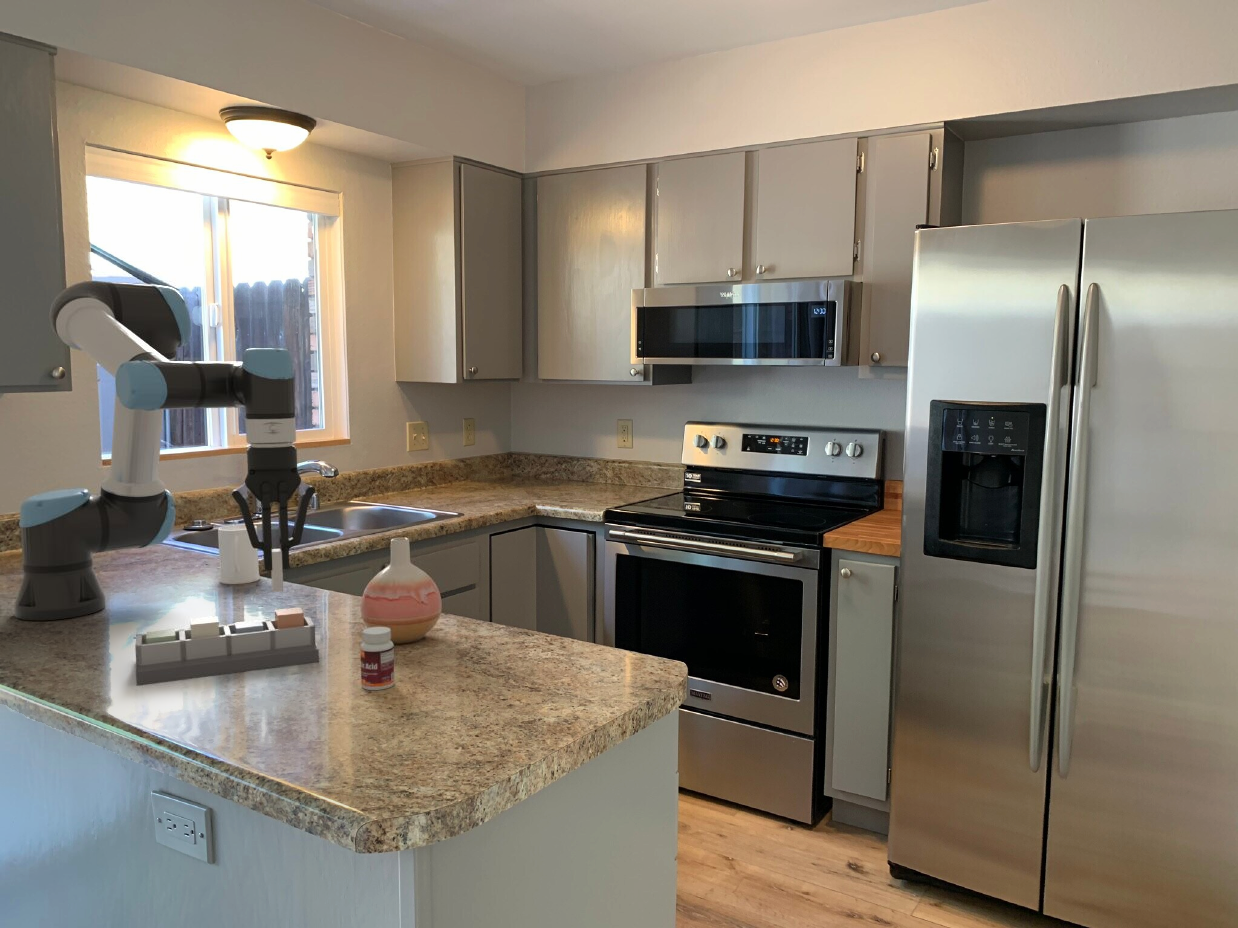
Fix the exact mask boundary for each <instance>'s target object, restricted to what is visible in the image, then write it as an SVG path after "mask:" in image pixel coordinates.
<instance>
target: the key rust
mask: <svg viewBox="0 0 1238 928" xmlns="http://www.w3.org/2000/svg"><path fill="white" fill-rule="evenodd" d="M304 616H305V615H304V612H303V609H302V608H301V607H292V608H279V609H274V619H275V628H276V629H283V628H292V627H301V626H304Z"/></svg>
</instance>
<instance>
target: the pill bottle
mask: <svg viewBox="0 0 1238 928" xmlns="http://www.w3.org/2000/svg"><path fill="white" fill-rule="evenodd" d="M390 639H391V630H390V628H387V627H371V628H367V627H366V628H365V629H363V631H362V641H363V642H362V643H361V644H360V647H359V648H360V649H359V651H360V683H361V685H360V686H361V687H362V688H363V689H365V690H367V691H382V690H387V689H389V688H391V687H394V685H395V644H393V642H392V641H390Z"/></svg>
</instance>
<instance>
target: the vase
mask: <svg viewBox="0 0 1238 928" xmlns="http://www.w3.org/2000/svg"><path fill="white" fill-rule="evenodd" d="M410 551H411V550H410V539H409V537H394V538H391V539H390V564H388V565H387V566H386V567H384V568H383V569H382V570H381V571H379V572H378V573H377V574H376V575H374V577H373V578H371V580H370V581H369V583H368V584H367V585H366V586H365V589H364V590H363V594H362V597H361V602H360V614H361V619H362V621H363V624H364V626H365V628H366V629H367V628H371V627H387V628H390V630H391V639H390V641H392V642H393V644H394V645H396V644H398V645H400V644H410V643H413V642H417V641H419V640H421V639H423V638H424V637H425V636H426V635H427V634H428V633H429V632H431V630H433V628H434V627H435V626H436V624H437V623H438V622H439V619H440V617H441V614H442V605H443V604H442V598H441V596H442V595H441V593H440V591H439V588H438V586H437V584H436V583H435V581H434V580H433V579H432V577H431V576H429V575H428V573H426V572H425V571H424V570H422V569H420V568H419V567H417V566H416V565H414V564H413V563H412V562H411V553H410Z"/></svg>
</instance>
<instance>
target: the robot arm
mask: <svg viewBox="0 0 1238 928" xmlns="http://www.w3.org/2000/svg"><path fill="white" fill-rule="evenodd" d="M189 311H190V310H189V308H188V305H187V303H186V301H185V299H184V297H183V296H182V294H181V293H180V292H179V291H178V290H177V289H175V288H173V287H171V286H165V285H158V284H154V283H140V282H139V283H138V282H136V283H135V282H119V281H117V282H116V281H103V280H87V281H86V280H84V281H82V282H77V283H74V284H72V285H70V286H68V287H67V288H65V289H63V290H62V291H61V292H60V293H59V294H57V296H56V297H55V298H54V300H53V301H52V304H51V306H50V310H49V314H48V315H49V323H50V327H51V329H52V331H53V332H54V333H55V335H56V336H57V337H58V338H59V339H60V340H61V341H62V342H63V343H64V344H65V345H67V346H69V347H70V348H72V349H74V350H78V351H82V352H84V353H85V354H87V356H89V357H90V359H92V360H93V361H94V362H96V363H97V364H98V365H99V366H100V367H102V368H103V369H104V370H105V371H106V372H107V373H109V375H111V376H112V377H113V378H115V379H114V381H115V384H114V385H115V392H114V393H115V395H114V411H113V423H112V424H113V425H112V439H111V440H112V441H111V457H110V458H111V459H110V474H109V475H108V476H107V477H106V478H104V479H103V480H102V481H101V482H100V493H95V494H91V493H90V491H89V490H88V489H87V488H83V487H81V488H80V487H79V488H78V487H76V488H69V489H68V488H67V489H66V488H65V489H59V490H53V491H47V492H43V493H39V494H36V495H32V496H30V497H28V498H26V499H24V500H23V501H22V503H21V504H20V507H19V508H20V509H19V523H18V525H19V527H20V538H21V542H20V543H21V555H22V567H23V568H22V569H23V571H22V572H23V573H22V574H23V576H22V579H21V583H20V586H19V590H18V593H17V595H16V598H15V602H14V616H15V618H16V619H19V620H25V621H52V620H63V619H70V618H71V619H72V618H77V617H82V616H86V615H89V614H93V613H97V612H99V611H102V610H103V609H105V607H106V596H105V593H104V591H103V588H102V586H101V584H100V582H99V579H98V577H97V575H96V573H95V570H94V562H93V561H94V559H93V557H94V556H93V554H98V553H99V554H100V553H106V552H107V553H108V552H116V551H123V550H130V549H144V548H147V547H151V546H156V545H160V544H162V543H163V542H164V541H166V540H167V539H168V538H169V536H170V535H171V533H172V531H173V529H174V527H175V522H176V508H175V499H174V496H173V495H172V492H170V491H169V490H168V489H167V488H166V484H165V482H163V480H161V479H160V478H159V471H160V454H161V445H162V444H161V443H162V431H163V419H164V418H163V417H164V411H165V410H182V409H183V410H185V409H225V408H227V409H232V408H234V409H236V408H244V411H245V436H246V438H245V439H246V441H245V442H246V443H247V444H249V446H248V448H247V449H246V458H247V460H246V463H247V474H246V477H245V479H244V483H243V484H242V485H241V486H239V487H238V488H236V489H235V488H234V489H232V490H231V492H230V494H231V497H232V498H233V499H234V500H235V502H236V503H237V504H238V506H239V509H240V512H241V516H242V519H243V523H244V525H245V526H246V529H247V532H248V536H249V539H250V542H251V545H252V547H253V548H255V549H256V548H257V549H258V550H260V551H262V553H263V568H264V570H265V572H269V571H270V573H271V589H272V591H273V592H274V593H277V592H283V591H284V574H283V570H288V569H290V549H292V547H293V548H294V547H295V546H299V545H300V544H301V541H302V536H303V532H304V528H305V527H304V526H305V522H306V518H307V513H308V508H309V503H310V501H311V499H312V498H313V496H314V494H315V493H316V488H315V487H314V486H313V485H309V484H307V483H305V482H304V481H302V477H301V476H300V474H299V472H298V471H299V470H298V453H297V451H298V449H297V447H296V446H295V445H294V443H295V442H297V429H296V428H297V426H296V397H295V396H296V395H295V394H296V392H295V391H296V390H295V374H296V373H295V370H294V362H293V361H294V360H293V354H292V352H291V351H290V350H289V349H286V348H271V347H269V348H267V347H266V348H265V347H264V348H261V347H259V348H257V347H256V348H247V349H246V350H244V352H243V354H242V361H175V360H176V357H177V349H178V348H182V347H185V346H186V345H187V344H188V343H189V340H190V339H191V331H192V323H191V315H190V312H189ZM298 488H299V489H298ZM297 489H298V495H299V496H300V497H299V500H298V504H297V505H298V506H297V510H296V515H295V520H294V525H293V529H292V532H291V533H292V534H291V536H289V515H288V501H289V500H290V499H291V498H292V497H293V495H294V494H295V492H296V491H297ZM248 491H250V492H251V494H252V495H253V496H254V497H255V498H256V499H257V501H259V502H260V508H261V509H260V510H261V528H262V529H261V534H262V536H261V537H262V540H260V539H259V537H258V532H257V533H256V530H255V527H254V525H255V524H254V521H253V517H252V514H251V510H250V507H249V504H248V502H247V501H246V500H247V499H248V498H249V494H248ZM273 503H277V511H278V512H277V513H278V535H279V536H278V537H279V539H278V540H279V548H273V538H272V513H271V512H272V511H271V509H272V508H271V507H272V505H271V504H273Z"/></svg>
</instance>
